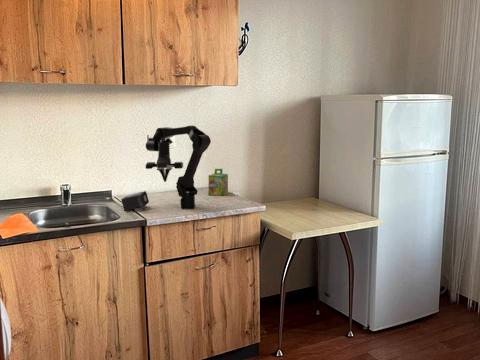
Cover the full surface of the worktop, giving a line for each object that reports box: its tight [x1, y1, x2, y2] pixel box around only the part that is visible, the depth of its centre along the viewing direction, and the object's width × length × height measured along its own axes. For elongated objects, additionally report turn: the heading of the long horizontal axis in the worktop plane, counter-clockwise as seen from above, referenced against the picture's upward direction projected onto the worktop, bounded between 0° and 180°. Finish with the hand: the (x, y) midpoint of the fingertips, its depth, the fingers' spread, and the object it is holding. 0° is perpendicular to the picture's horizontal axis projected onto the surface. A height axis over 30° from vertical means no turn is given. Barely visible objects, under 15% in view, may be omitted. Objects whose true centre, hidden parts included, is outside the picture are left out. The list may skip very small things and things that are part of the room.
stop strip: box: [134, 204, 147, 212], centre depth 235 cm, size 2×12×1 cm, turn 178°
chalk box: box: [207, 168, 229, 197], centre depth 269 cm, size 9×9×15 cm
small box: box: [121, 190, 150, 212], centre depth 235 cm, size 11×6×10 cm
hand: (165, 181), depth 243 cm, fingers closed
